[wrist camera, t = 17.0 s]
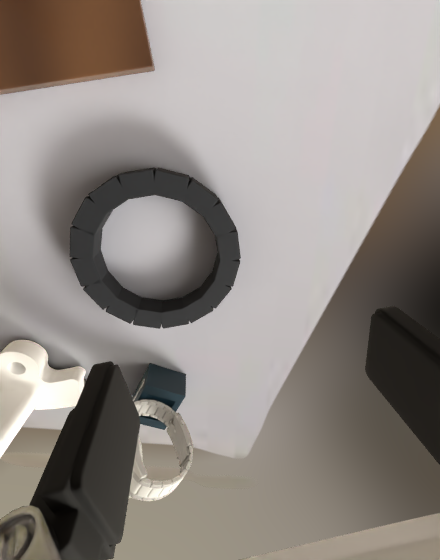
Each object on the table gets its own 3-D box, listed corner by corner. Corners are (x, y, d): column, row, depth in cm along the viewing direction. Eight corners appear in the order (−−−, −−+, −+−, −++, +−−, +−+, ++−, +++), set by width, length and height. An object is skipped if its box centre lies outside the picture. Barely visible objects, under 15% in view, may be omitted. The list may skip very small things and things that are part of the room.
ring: (109, 326, 28) (103, 339, 26) (53, 184, 22) (39, 187, 20) (243, 302, 28) (247, 313, 26) (224, 155, 22) (228, 156, 20)
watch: (132, 357, 30) (104, 461, 20) (199, 378, 32) (204, 481, 22) (115, 393, 32) (81, 504, 22) (179, 410, 34) (175, 518, 24)
